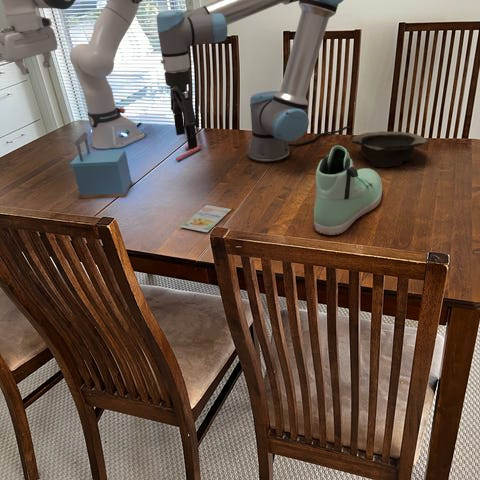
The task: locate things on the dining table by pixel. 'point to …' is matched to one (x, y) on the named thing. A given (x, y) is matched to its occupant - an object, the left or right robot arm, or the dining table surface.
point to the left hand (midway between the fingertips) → (36, 70)
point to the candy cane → (188, 152)
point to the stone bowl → (388, 147)
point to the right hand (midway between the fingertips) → (186, 140)
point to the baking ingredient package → (206, 218)
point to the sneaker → (343, 192)
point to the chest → (103, 180)
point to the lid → (95, 155)
